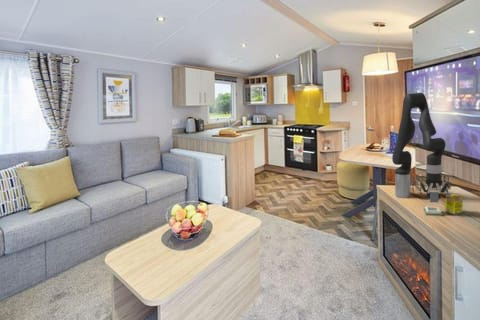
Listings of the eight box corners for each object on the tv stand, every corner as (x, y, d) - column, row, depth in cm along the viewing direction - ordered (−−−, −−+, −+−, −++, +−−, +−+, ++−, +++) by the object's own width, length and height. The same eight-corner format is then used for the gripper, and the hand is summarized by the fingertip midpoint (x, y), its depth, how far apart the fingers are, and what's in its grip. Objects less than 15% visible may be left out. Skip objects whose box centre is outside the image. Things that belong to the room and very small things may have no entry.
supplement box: (454, 215, 157) (455, 198, 155) (444, 212, 163) (445, 195, 161) (462, 213, 158) (463, 196, 156) (452, 210, 164) (453, 193, 162)
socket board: (423, 209, 170) (423, 205, 169) (439, 210, 166) (439, 206, 165) (425, 215, 162) (426, 211, 162) (443, 216, 158) (443, 212, 158)
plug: (428, 200, 165) (429, 188, 164) (436, 200, 163) (437, 188, 162) (430, 202, 161) (430, 190, 160) (438, 202, 160) (438, 190, 158)
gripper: (447, 169, 159) (446, 196, 162) (418, 170, 165) (418, 196, 169) (450, 173, 152) (449, 201, 156) (420, 173, 159) (420, 200, 162)
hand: (433, 198), depth 162 cm, fingers closed on plug, 4 cm apart
